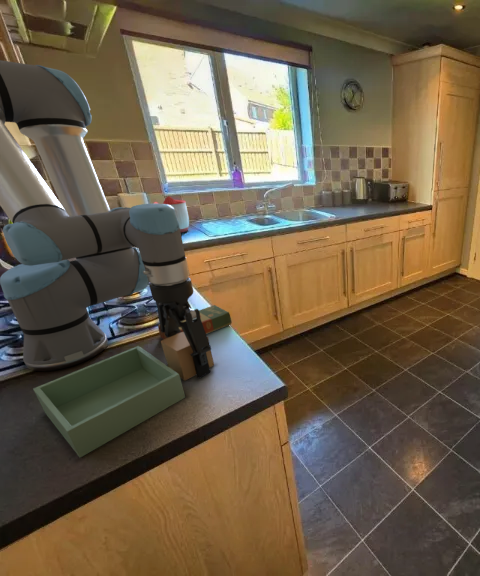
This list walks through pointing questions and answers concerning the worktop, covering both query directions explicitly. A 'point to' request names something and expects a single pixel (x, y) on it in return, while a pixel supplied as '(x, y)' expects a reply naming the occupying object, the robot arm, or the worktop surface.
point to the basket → (109, 398)
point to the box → (181, 355)
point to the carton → (210, 320)
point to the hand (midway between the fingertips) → (191, 366)
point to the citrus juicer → (179, 212)
